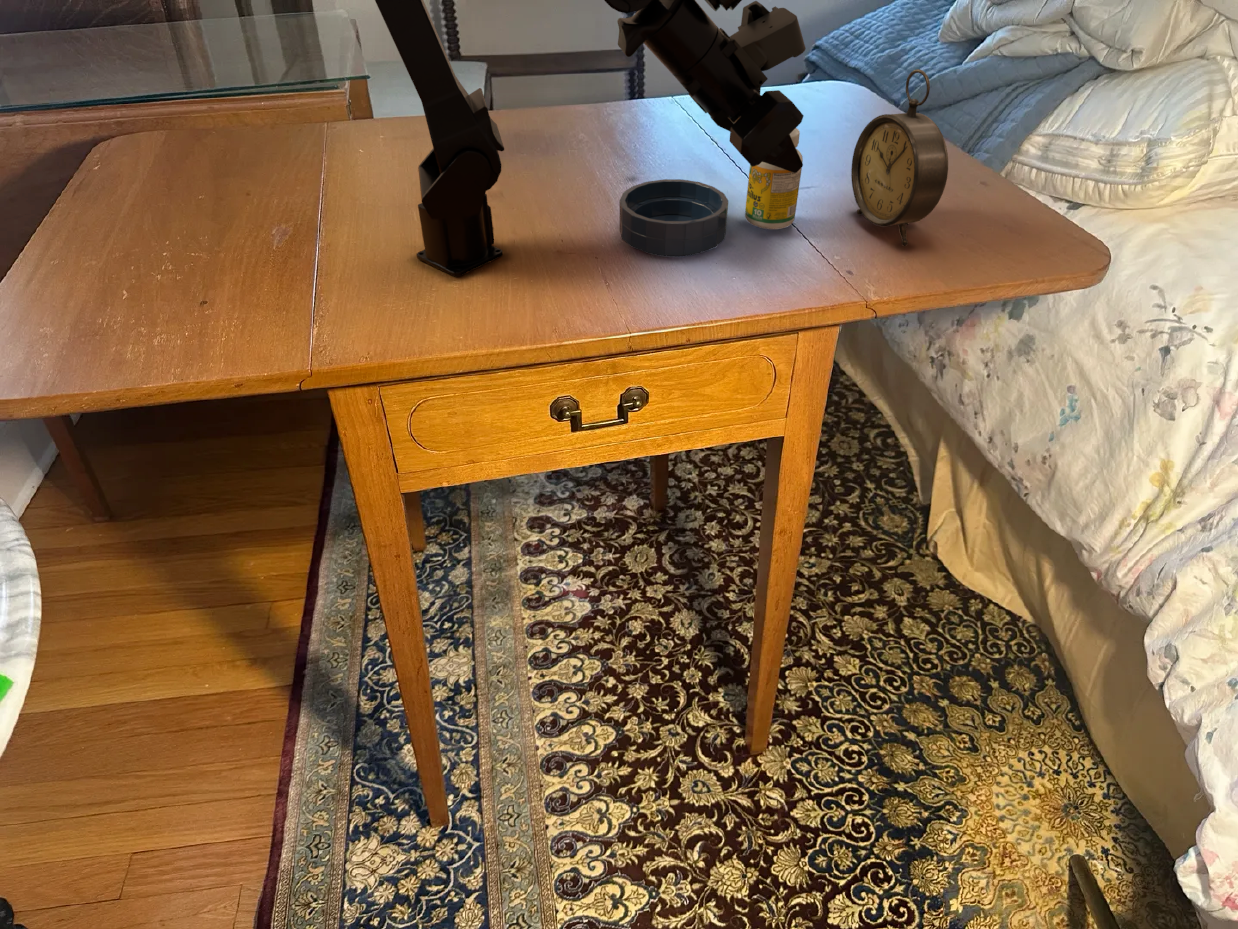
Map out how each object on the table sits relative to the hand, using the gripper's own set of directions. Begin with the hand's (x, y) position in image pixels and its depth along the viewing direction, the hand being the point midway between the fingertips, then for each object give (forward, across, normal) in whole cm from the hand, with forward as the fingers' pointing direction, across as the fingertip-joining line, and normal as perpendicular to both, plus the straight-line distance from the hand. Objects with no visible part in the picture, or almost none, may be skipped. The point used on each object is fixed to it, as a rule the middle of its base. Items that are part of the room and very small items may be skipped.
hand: (789, 158), depth 89 cm
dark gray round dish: (-3, 0, +14) cm, 14 cm away
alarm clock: (+13, -3, -3) cm, 14 cm away
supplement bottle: (+4, 0, +6) cm, 7 cm away
